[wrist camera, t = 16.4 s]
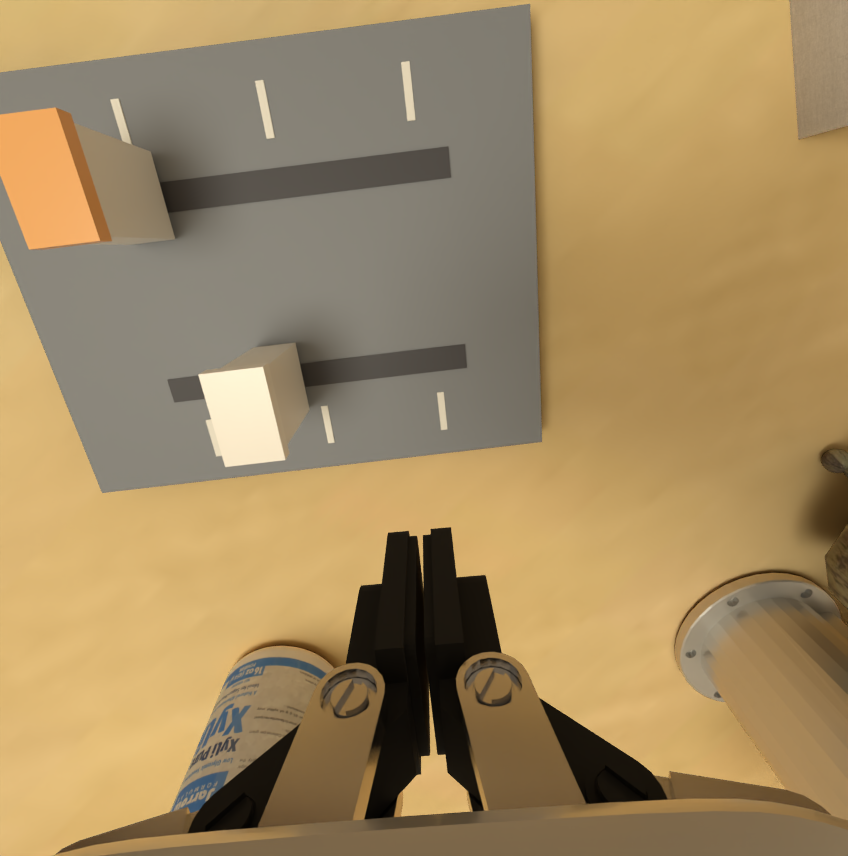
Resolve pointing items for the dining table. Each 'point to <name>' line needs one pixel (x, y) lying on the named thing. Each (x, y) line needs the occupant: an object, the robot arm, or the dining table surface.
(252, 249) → the panel
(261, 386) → the fader cream
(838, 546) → the tabletop clock
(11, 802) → the dining table surface
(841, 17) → the tea bag
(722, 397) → the dining table surface
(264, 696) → the supplement tub
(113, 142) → the fader orange
